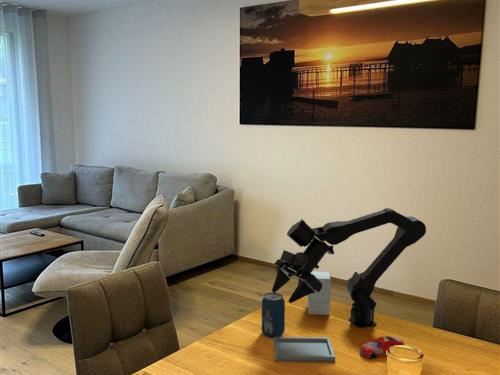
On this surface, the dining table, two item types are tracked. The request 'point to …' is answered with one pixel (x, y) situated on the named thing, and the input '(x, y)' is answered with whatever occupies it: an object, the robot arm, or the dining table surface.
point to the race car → (379, 346)
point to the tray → (303, 349)
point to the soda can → (273, 315)
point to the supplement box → (320, 296)
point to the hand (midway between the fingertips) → (280, 297)
